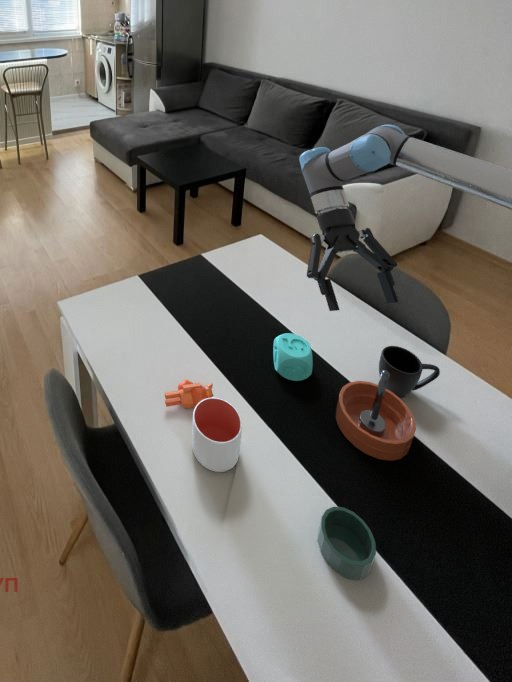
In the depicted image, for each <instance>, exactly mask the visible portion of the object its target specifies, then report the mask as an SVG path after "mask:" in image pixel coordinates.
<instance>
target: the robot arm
mask: <svg viewBox="0 0 512 682" xmlns="http://www.w3.org/2000/svg"><path fill="white" fill-rule="evenodd" d="M298 159H299V160H298V161H299V164H300V168H301V174H302V176H303V178H304V182H305V184H306V186H307V190H308V193H309V197H310V201H311V203H312V206H313V211H314V213H315V214H316V215H317V216H316V220H317V223H318V226H319V230H320V231H321V233H322V234H319V233H315V234H313V235H310V237H309V241H310V252H309V257H308V264H307V270H306V278H308V279H313V280H314V281H316V282H317V285H318V288H319V292H320V294H321V295H322V296H324V298H325V300H326V304H327V307H328V310H329V312H337V311H340V306H339V303H338V301H337V297H336V294H335V290H334V287H333V284H332V281H331V278H327V276H328V273H329V270H330V269H331V267H332V265H333V262H334V259H335V257H336V255H337V254H338V253H343V252H346V253H347V252H351V251H352V252H354V253H357V254H358V255H359V256H360V257H361V258H362V259H364V260H365V261H366V262H368V263H369V264H370V265H371V266H373V267H374V268H375V269H377V270H378V271H379V272H376V275H377V278H378V281H379V284H380V287H381V290H382V292H383V295H384V298H385V302H386V303H387V304H393V303H395V304H396V303H399V300H398V297H397V294H396V290H395V288H394V286H396V283H395V280H394V277H393V275H392V271H393V270H394V268H397V266H398V263H397V262H396V260H395V259H394V258H393V257H392V256H391V255H390V254H389V252H388V251H387V250H386V249H385V248H384V247H383V246H382V245H381V243H380V242H379V241H378V240H377V238H375V235H374V234H373V232H372V229H371V228H370V227H365V228H364V229H361V230H358V229H357V228H356V221H355V217H354V215H353V212H352V210H351V209H350V208H349V207H350V203H349V200H348V197H347V195H346V192H345V189H344V186H343V183H344V182H346V181H348V180H351V179H354V178H356V177H359V176H362V175H366V174H367V173H368V174H369V173H370V172H375V171H377V170H378V169H381V168H383V167H385V166H387V165H388V164H390V165H392V166H395V167H398V168H401V169H404V170H406V171H409V172H412V173H414V174H417V175H420V176H422V177H425V178H426V179H430V180H432V181H435V182H438V183H440V184H443V185H445V186H448V187H450V188H452V189H456V190H458V191H461V192H463V193H466V194H469V195H472V196H474V197H477V198H479V199H482V200H484V201H486V202H490V203H492V204H495V205H497V206H500V207H503V208H505V209H508V210H509V211H512V169H510V168H508V167H504V166H501V165H498V164H494V163H493V162H488V161H486V160H483V159H480V158H476V157H474V156H470V155H467V154H464V153H461V152H458V151H455V150H452V149H449V148H446V147H443V146H440V145H436V144H434V143H430V142H427V141H424V140H422V139H419V138H415V137H412V136H409V135H407V134H406V132H404V131H403V130H402V128H400V127H399V126H397V125H394V124H382V125H379V126H376V127H374V128H371V129H370V130H369V131H368V132H366V133H365V134H363V135H361V136H359V137H357V138H355V139H354V140H352V141H350V142H349V143H346V144H344V145H342V146H340V147H338V148H336V149H334V150H331V149H330V148H328V147H325V146H321V147H320V146H319V147H314V148H312V149H308V150H306V151H304V152H303V153H301V154H300V156H299V158H298ZM360 239H361V240H362V241H363V242H364V243H363V242H362V241H361V240H360ZM323 243H325V244H326V248H325V250H324V255H323V256H322V259H321V252H322V244H323ZM320 260H321V262H320Z"/></svg>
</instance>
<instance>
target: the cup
mask: <svg viewBox="0 0 512 682" xmlns="http://www.w3.org/2000/svg"><path fill="white" fill-rule="evenodd" d="M191 429H192V430H191V433H192V434H191V448H192V451H193V455H194V457H195V458H196V460H197V462H199V464H200V465H201V466H203V467H204V468H206V469H207V470H209V471H212V472H216V473H225V472H227V471H231V469H232V468H234V467H235V466H236V464H237V462H238V460H239V459H240V458H239V457H240V451H241V450H240V449H241V443H242V441H241V440H242V431H243V422H242V418H241V415H240V412H239V411H238V409H236V407H235V406H234V405H233V404H232V403H230V402H228V401H227V400H225V399H224V398H223V399H222V398H219V397H212V398H207V399H204V400H202V401H200V402H199V403H198V404H197V405H196V407H194V408H193V412H192V428H191Z"/></svg>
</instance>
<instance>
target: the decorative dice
mask: <svg viewBox="0 0 512 682" xmlns="http://www.w3.org/2000/svg"><path fill="white" fill-rule="evenodd" d="M272 346H273V347H272V350H273V351H272V355H273V357H272V358H273V364H274V365H273V366H274V370H275V371H276V372H277V374H279V375H280V376H281V377H283V378H285V379H286V380H289V381H294V382H299V381H300V382H301V381H304V380H306V379H308V378H309V377H310V376H312V374H313V365H314V363H313V360H314V359H313V352H312V351H313V350H312V346H311V344H310V343H309V342H308V340H307V339H305V338H304V337H302V336H300V335H298V334H296V333H292V332H287V333H282V334H280V335H278V336H276V337H275V338H274V340H273V345H272Z"/></svg>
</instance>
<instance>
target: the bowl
mask: <svg viewBox="0 0 512 682" xmlns="http://www.w3.org/2000/svg"><path fill="white" fill-rule="evenodd" d="M377 388H378V384H377V383H375V382H371V381H365V380H356V381H351V382H350V381H349V382H348V383H346V384H345V385H343V386H342V388H341V389H340V391H339V393H338V398H337V402H336V407H335V420H336V423H337V426H338V428H339V430H340V431H341V433H342V434H343V437H345V438H346V439H347V441H349V442H350V443H351V444H352V445H353V446H354V448H356V449H357V450H359V451H361V452H362V453H364V454H365V455H367V456H370V457H372V458H375V459H377V460H380V461H381V460H382V461H390V462H391V461H392V462H393V461H398V460H401V459H403V458H404V457H405V456H406V455H408V454H409V451H410V448H411V446H412V443H413V440H414V437H415V434H416V431H417V425H416V419H415V417H414V414H413V413H412V411H411V409H410V408H409V407H408V405H407V404H406V403H405V402H404V401H403V399H402V398H399V397H398V396H396V395H395V394H394V393H393V392H391V391H389V390H388V389H386V390H385V394H384V397H383V401H382V404H381V408H380V411H379V415H380V416H381V417H382V418H383V419H384V421H385V423H386V428H385V432H384V434H383V435H382V436H381V437H376V436H373V435H371V434H370V433H368V432H366V431H365V430H363V429H362V428H361V427H360V425H359V417H360V413H361V412H362V411H363V410H372V407H373V403H374V399H375V396H376V392H377Z"/></svg>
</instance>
